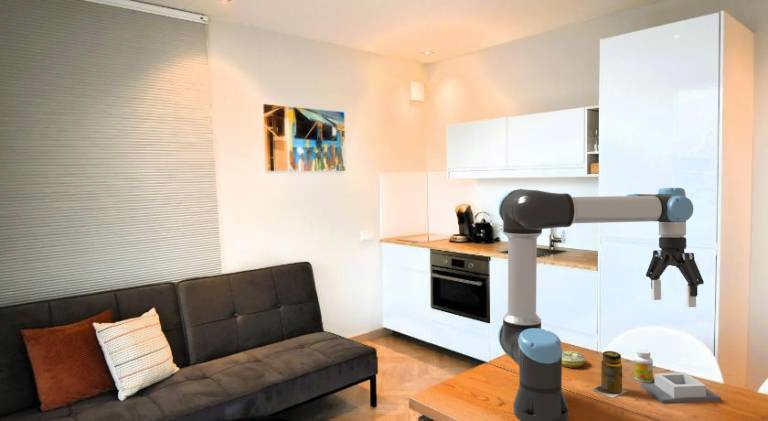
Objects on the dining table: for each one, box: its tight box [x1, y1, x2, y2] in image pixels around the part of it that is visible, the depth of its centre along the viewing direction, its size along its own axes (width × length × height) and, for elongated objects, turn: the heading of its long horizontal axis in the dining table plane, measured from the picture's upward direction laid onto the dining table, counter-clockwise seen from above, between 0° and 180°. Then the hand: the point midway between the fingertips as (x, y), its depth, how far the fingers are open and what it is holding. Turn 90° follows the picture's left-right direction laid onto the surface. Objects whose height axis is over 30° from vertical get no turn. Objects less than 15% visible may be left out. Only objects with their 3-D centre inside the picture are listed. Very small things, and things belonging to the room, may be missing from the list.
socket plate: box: [640, 371, 722, 404], centre depth 149 cm, size 18×11×4 cm, turn 92°
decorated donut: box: [562, 350, 587, 369], centre depth 175 cm, size 10×11×4 cm
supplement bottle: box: [633, 348, 654, 384], centre depth 159 cm, size 5×5×10 cm
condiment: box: [591, 350, 629, 399], centre depth 152 cm, size 7×8×12 cm
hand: (673, 303), depth 152 cm, fingers open, 13 cm apart
